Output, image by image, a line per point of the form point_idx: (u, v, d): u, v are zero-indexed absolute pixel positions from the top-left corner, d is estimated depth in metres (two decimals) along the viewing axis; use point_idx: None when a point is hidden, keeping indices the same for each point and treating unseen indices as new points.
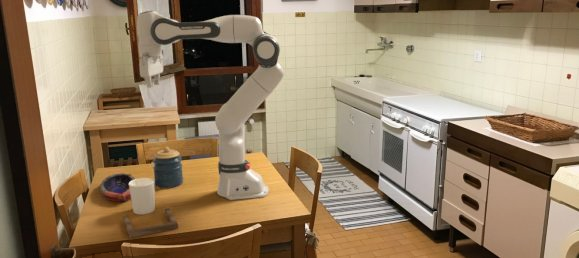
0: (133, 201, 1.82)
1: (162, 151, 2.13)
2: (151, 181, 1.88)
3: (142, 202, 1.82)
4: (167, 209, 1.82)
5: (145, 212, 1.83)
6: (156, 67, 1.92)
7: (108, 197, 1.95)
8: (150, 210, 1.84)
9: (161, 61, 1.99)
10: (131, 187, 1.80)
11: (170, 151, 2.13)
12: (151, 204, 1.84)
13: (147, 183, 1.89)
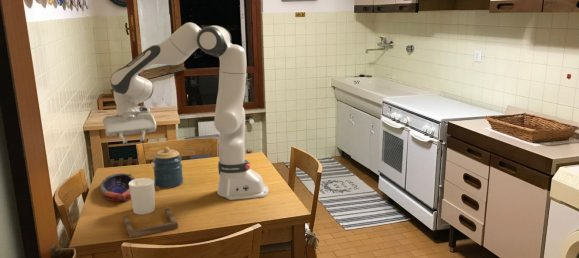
0: (133, 201, 1.82)
1: (162, 151, 2.13)
2: (151, 181, 1.88)
3: (142, 202, 1.82)
4: (167, 209, 1.82)
5: (145, 212, 1.83)
6: (132, 124, 1.94)
7: (108, 197, 1.95)
8: (150, 210, 1.84)
9: (149, 118, 1.98)
10: (131, 187, 1.80)
11: (170, 151, 2.13)
12: (151, 204, 1.84)
13: (147, 183, 1.89)
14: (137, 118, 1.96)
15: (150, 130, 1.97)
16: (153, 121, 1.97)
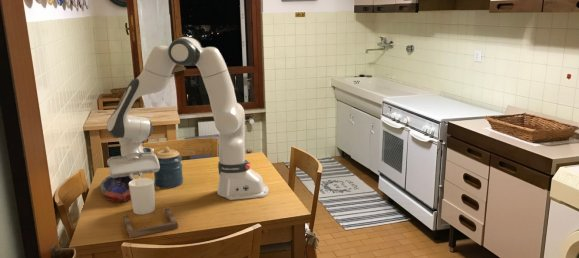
0: (133, 201, 1.82)
1: (162, 151, 2.13)
2: (151, 181, 1.88)
3: (142, 202, 1.82)
4: (167, 209, 1.82)
5: (145, 212, 1.83)
6: (135, 165, 1.97)
7: (108, 197, 1.95)
8: (150, 210, 1.84)
9: (152, 158, 2.00)
10: (131, 187, 1.80)
11: (170, 151, 2.13)
12: (151, 204, 1.84)
13: (147, 183, 1.89)
14: (141, 159, 1.99)
15: (153, 171, 2.00)
16: (156, 162, 2.00)
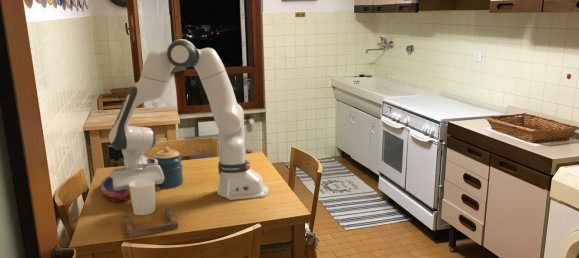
0: (133, 202, 1.81)
1: (162, 151, 2.13)
2: (151, 182, 1.87)
3: (142, 203, 1.81)
4: (167, 209, 1.82)
5: (145, 213, 1.82)
6: (139, 177, 1.91)
7: (108, 197, 1.95)
8: (150, 211, 1.83)
9: (157, 170, 1.95)
10: (131, 188, 1.80)
11: (170, 151, 2.13)
12: (151, 205, 1.83)
13: (147, 184, 1.88)
14: (145, 170, 1.94)
15: (158, 182, 1.95)
16: (161, 173, 1.95)
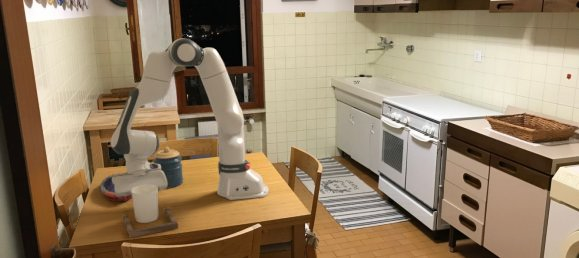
0: (136, 209, 1.75)
1: (162, 151, 2.13)
2: (154, 188, 1.80)
3: (145, 210, 1.74)
4: (167, 209, 1.82)
5: (148, 220, 1.76)
6: (142, 182, 1.85)
7: (108, 197, 1.95)
8: (153, 218, 1.77)
9: (160, 175, 1.88)
10: (134, 194, 1.73)
11: (170, 151, 2.13)
12: (154, 212, 1.77)
13: (150, 190, 1.81)
14: (147, 176, 1.87)
15: (161, 188, 1.88)
16: (164, 179, 1.88)
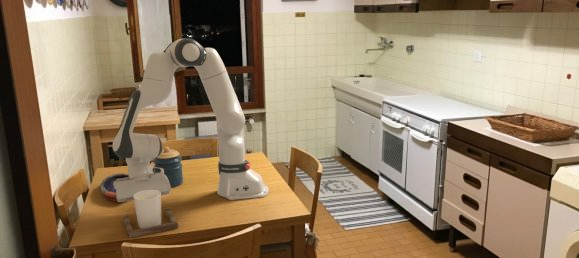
0: (138, 215, 1.69)
1: (162, 151, 2.13)
2: (157, 193, 1.75)
3: (148, 216, 1.69)
4: (167, 209, 1.82)
5: None
6: (144, 187, 1.79)
7: (108, 197, 1.95)
8: (156, 224, 1.71)
9: (163, 179, 1.83)
10: (136, 200, 1.68)
11: (170, 151, 2.13)
12: (158, 218, 1.71)
13: (153, 195, 1.76)
14: (150, 180, 1.82)
15: (164, 193, 1.83)
16: (167, 183, 1.83)
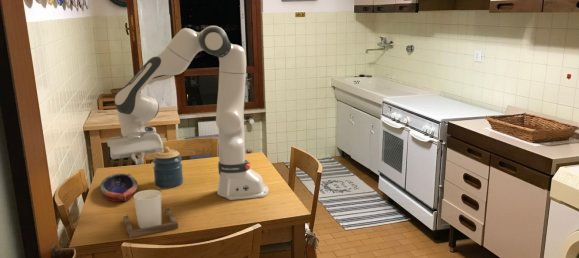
0: (138, 215, 1.69)
1: (162, 151, 2.13)
2: (157, 193, 1.75)
3: (148, 216, 1.69)
4: (167, 209, 1.82)
5: None
6: (137, 145, 1.86)
7: (109, 197, 1.95)
8: (156, 225, 1.71)
9: (155, 138, 1.89)
10: (136, 200, 1.68)
11: (170, 151, 2.13)
12: (158, 218, 1.71)
13: (153, 195, 1.76)
14: (143, 138, 1.88)
15: (156, 151, 1.89)
16: (159, 141, 1.89)
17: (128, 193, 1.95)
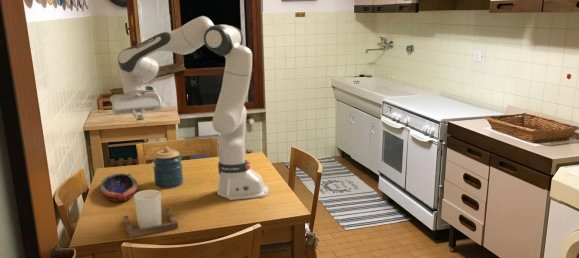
0: (138, 215, 1.69)
1: (162, 151, 2.13)
2: (157, 193, 1.75)
3: (148, 216, 1.69)
4: (167, 209, 1.82)
5: None
6: (138, 102, 1.98)
7: (109, 197, 1.95)
8: (156, 225, 1.71)
9: (155, 96, 2.02)
10: (136, 200, 1.68)
11: (170, 151, 2.13)
12: (158, 218, 1.71)
13: (153, 195, 1.76)
14: (143, 97, 2.01)
15: (156, 108, 2.02)
16: (159, 100, 2.02)
17: (128, 193, 1.95)
